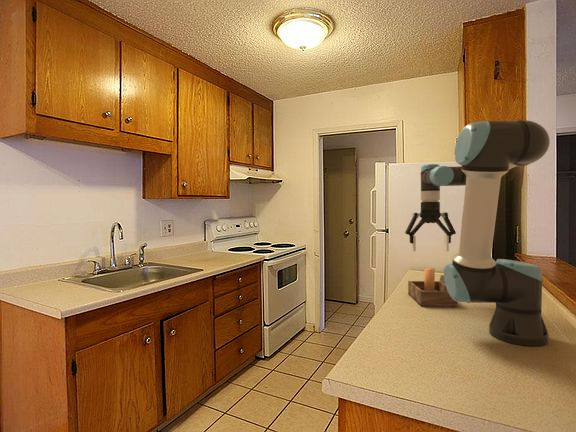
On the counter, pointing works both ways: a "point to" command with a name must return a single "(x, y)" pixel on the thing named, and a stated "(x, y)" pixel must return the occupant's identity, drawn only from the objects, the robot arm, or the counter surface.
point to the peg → (429, 279)
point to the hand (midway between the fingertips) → (430, 251)
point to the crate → (430, 295)
